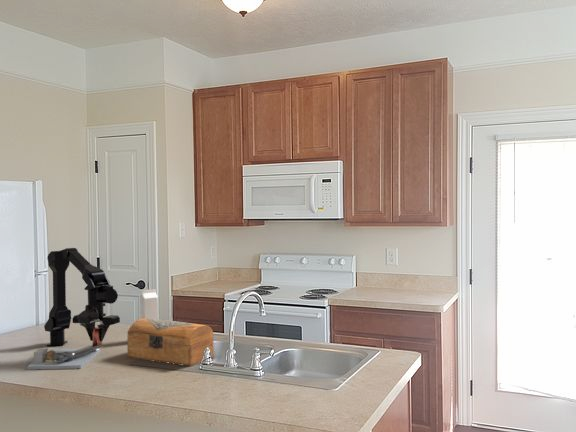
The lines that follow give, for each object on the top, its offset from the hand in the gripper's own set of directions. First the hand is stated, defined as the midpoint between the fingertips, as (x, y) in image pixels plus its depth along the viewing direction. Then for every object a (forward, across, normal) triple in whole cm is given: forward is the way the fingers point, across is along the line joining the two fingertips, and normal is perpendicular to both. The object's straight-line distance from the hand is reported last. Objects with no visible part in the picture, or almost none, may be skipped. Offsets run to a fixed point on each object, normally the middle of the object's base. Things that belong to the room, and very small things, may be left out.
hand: (96, 340), depth 221 cm
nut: (+2, -7, -17) cm, 19 cm away
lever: (+3, 0, -9) cm, 9 cm away
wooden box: (+6, +31, +4) cm, 32 cm away
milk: (+5, +8, +25) cm, 27 cm away
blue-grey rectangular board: (+5, -5, -11) cm, 13 cm away
